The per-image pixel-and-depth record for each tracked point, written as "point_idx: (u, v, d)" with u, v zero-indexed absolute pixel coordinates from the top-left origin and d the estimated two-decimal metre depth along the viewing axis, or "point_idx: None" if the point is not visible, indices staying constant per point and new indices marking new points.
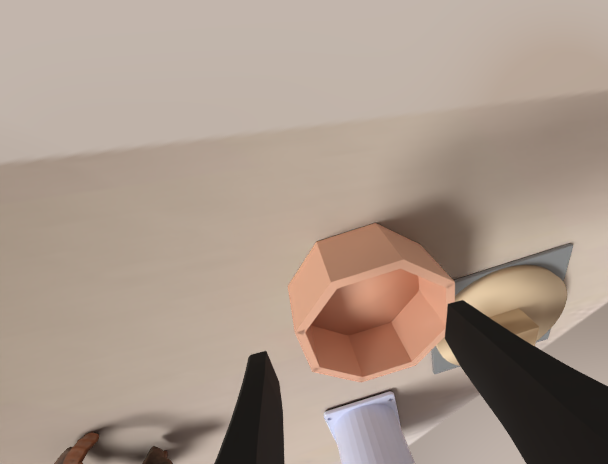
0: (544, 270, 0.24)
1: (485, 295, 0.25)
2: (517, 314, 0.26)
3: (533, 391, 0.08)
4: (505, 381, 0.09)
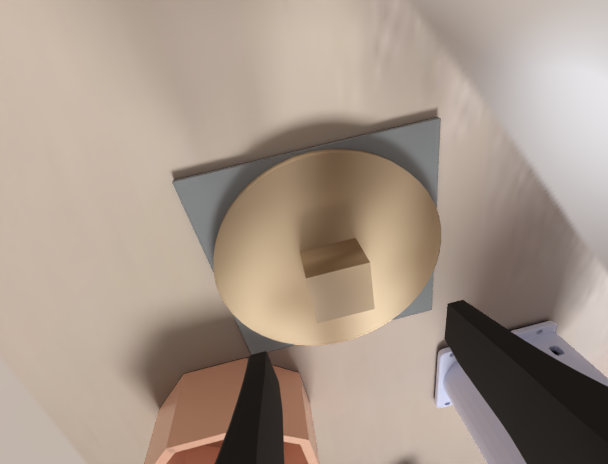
0: (217, 236, 0.14)
1: (259, 311, 0.17)
2: None
3: (533, 391, 0.08)
4: (506, 381, 0.09)
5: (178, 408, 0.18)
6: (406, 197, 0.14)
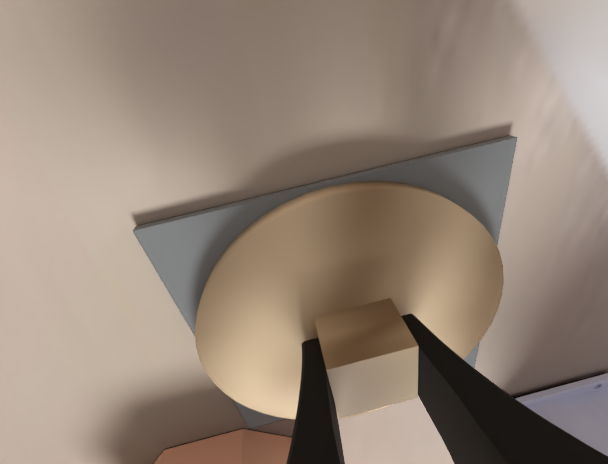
0: (200, 302, 0.10)
1: (259, 387, 0.12)
2: None
3: (460, 411, 0.08)
4: (441, 399, 0.09)
5: None
6: (463, 246, 0.10)
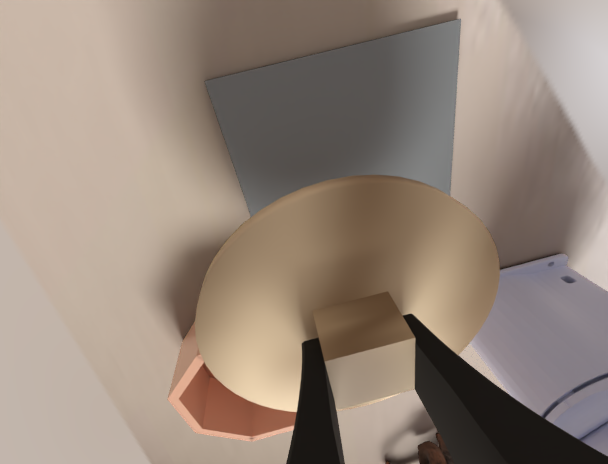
0: (200, 295, 0.10)
1: (258, 380, 0.13)
2: None
3: (460, 411, 0.08)
4: (441, 398, 0.09)
5: None
6: (460, 239, 0.10)
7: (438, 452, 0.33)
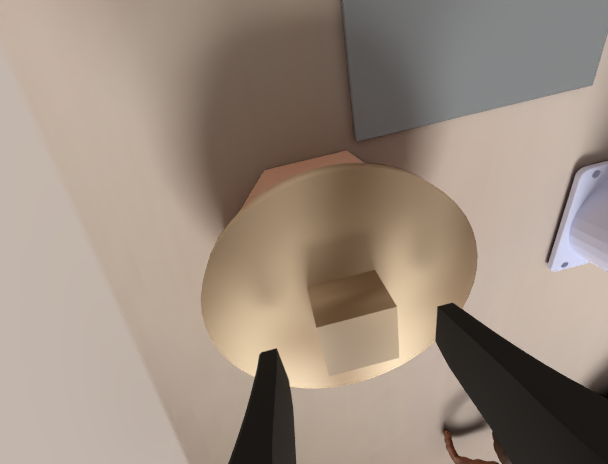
0: (205, 272, 0.11)
1: (258, 354, 0.14)
2: None
3: (518, 395, 0.08)
4: (493, 385, 0.09)
5: (269, 185, 0.13)
6: (438, 221, 0.12)
7: None
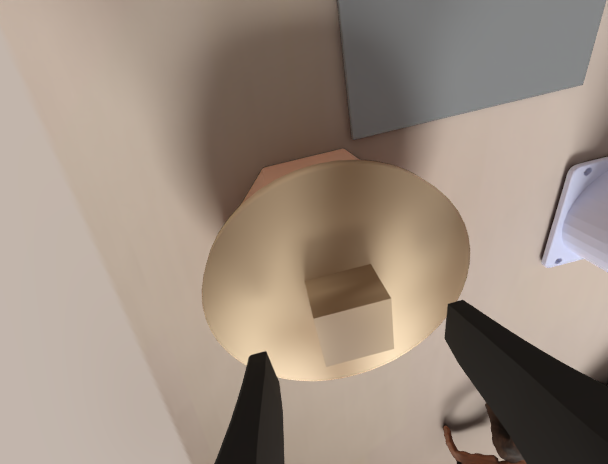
0: (206, 265, 0.12)
1: (257, 347, 0.14)
2: None
3: (533, 391, 0.08)
4: (506, 381, 0.09)
5: (268, 182, 0.13)
6: (432, 217, 0.12)
7: None
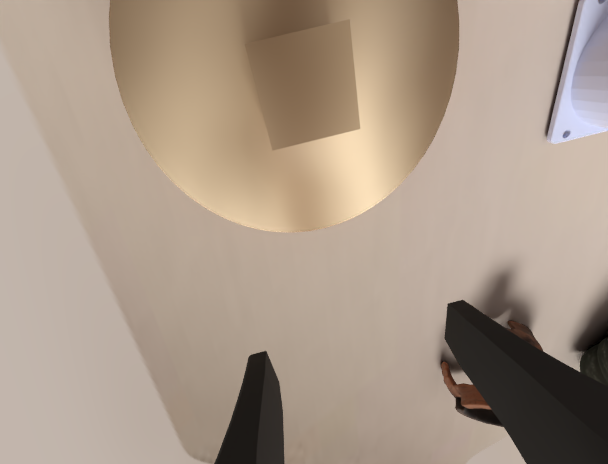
0: (112, 3, 0.09)
1: (197, 163, 0.11)
2: None
3: (533, 391, 0.08)
4: (505, 381, 0.09)
5: None
6: None
7: (520, 330, 0.25)
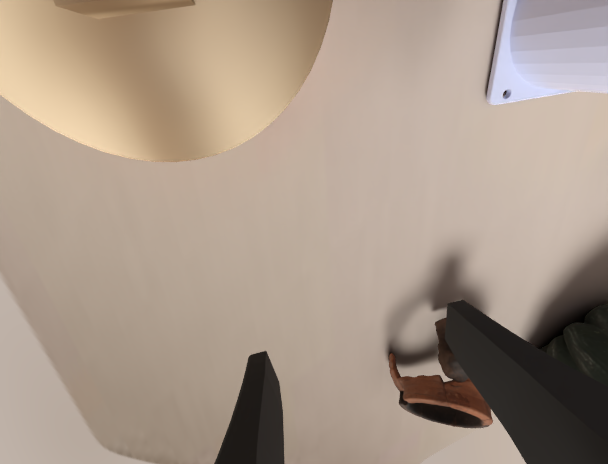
0: None
1: (1, 46, 0.09)
2: None
3: (533, 391, 0.08)
4: (505, 381, 0.09)
5: None
6: None
7: None
